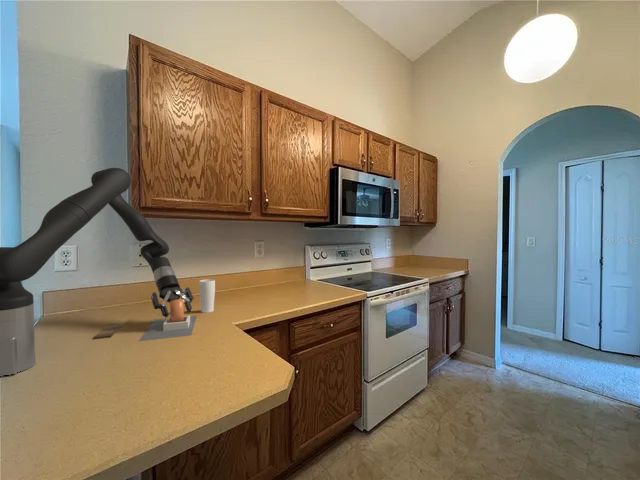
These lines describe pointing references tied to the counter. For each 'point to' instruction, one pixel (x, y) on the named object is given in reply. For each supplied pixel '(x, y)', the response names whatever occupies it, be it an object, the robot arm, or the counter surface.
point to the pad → (108, 331)
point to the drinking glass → (207, 295)
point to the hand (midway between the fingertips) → (178, 313)
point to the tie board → (169, 328)
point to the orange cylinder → (177, 310)
